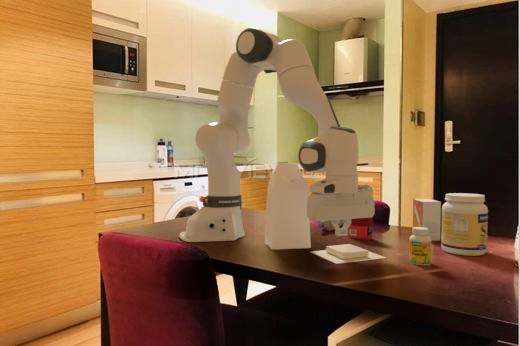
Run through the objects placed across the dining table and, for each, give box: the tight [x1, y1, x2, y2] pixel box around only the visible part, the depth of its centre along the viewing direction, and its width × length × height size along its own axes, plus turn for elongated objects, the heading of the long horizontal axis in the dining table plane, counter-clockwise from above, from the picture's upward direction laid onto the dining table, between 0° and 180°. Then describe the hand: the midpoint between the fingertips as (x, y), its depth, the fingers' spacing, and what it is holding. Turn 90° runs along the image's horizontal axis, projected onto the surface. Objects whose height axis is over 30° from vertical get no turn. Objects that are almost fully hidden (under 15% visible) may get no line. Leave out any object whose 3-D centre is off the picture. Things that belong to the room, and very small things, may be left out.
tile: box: [325, 243, 370, 259], centre depth 118 cm, size 2×9×8 cm
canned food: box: [347, 216, 374, 242], centre depth 142 cm, size 8×8×11 cm
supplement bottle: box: [408, 226, 432, 266], centre depth 110 cm, size 5×5×10 cm
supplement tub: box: [440, 192, 489, 257], centre depth 123 cm, size 12×12×17 cm
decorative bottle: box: [317, 219, 344, 231], centre depth 161 cm, size 26×8×7 cm, turn 149°
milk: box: [264, 162, 312, 250], centre depth 130 cm, size 12×12×26 cm
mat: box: [310, 249, 387, 265], centre depth 118 cm, size 16×14×1 cm
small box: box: [412, 198, 442, 242], centre depth 143 cm, size 8×6×13 cm
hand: (341, 235), depth 117 cm, fingers closed
